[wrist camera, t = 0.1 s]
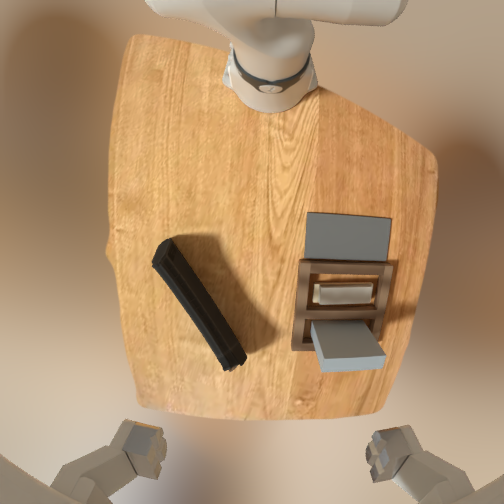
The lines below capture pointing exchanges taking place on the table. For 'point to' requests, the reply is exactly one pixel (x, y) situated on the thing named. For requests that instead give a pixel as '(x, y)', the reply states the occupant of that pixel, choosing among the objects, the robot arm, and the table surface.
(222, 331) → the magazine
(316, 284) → the offcut lower
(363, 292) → the offcut upper
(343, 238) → the mat
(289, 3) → the robot arm
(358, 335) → the sheet
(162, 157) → the table surface
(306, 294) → the rack
